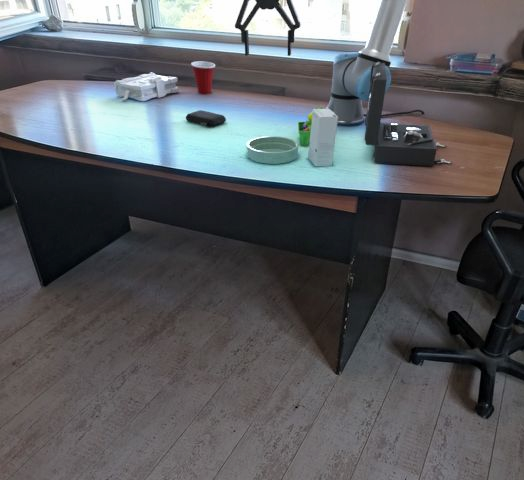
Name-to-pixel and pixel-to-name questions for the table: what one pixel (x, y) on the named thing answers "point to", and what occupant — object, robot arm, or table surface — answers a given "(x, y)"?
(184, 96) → the table surface
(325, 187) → the table surface
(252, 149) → the bowl
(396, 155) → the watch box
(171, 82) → the white irregular flat block
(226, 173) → the table surface
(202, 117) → the carrying case
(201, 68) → the plastic cup
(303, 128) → the fruit basket
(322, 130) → the cosmetic box
